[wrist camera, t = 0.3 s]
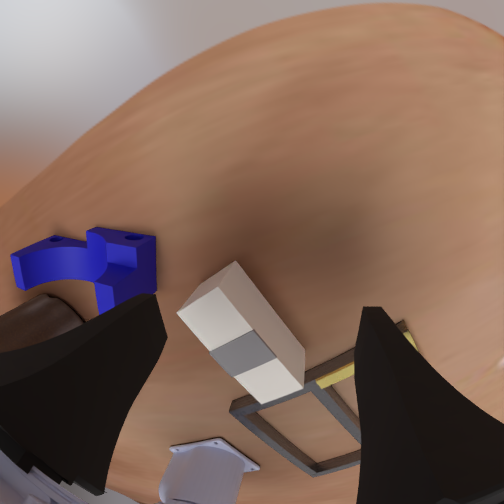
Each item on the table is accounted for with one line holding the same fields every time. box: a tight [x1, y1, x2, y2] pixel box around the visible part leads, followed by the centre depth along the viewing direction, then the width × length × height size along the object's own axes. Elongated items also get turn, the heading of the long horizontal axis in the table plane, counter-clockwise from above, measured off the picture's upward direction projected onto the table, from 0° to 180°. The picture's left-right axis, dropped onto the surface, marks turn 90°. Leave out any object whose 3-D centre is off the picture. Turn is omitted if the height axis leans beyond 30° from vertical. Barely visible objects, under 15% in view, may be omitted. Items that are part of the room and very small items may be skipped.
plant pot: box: [0, 294, 84, 353], centre depth 19 cm, size 16×16×16 cm
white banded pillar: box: [177, 260, 305, 404], centre depth 19 cm, size 4×9×5 cm, turn 37°
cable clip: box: [10, 227, 157, 315], centre depth 19 cm, size 12×4×6 cm, turn 84°
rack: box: [229, 320, 418, 477], centre depth 22 cm, size 17×16×2 cm
